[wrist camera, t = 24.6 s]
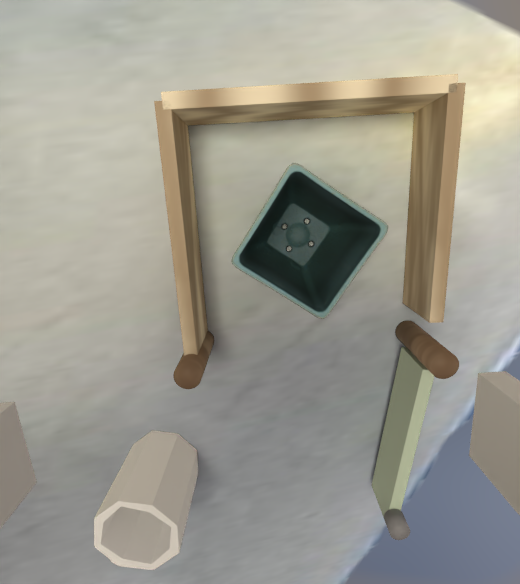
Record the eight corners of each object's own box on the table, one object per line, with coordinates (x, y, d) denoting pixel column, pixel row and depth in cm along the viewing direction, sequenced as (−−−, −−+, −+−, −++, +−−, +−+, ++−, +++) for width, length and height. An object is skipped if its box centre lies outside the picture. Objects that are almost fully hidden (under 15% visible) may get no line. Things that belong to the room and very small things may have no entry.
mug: (146, 419, 40) (109, 487, 31) (212, 448, 41) (197, 523, 32) (108, 492, 43) (64, 575, 33) (171, 518, 44) (145, 606, 34)
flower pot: (284, 169, 33) (292, 159, 24) (359, 219, 34) (392, 226, 25) (237, 247, 35) (228, 263, 26) (309, 292, 36) (323, 321, 27)
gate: (397, 346, 36) (427, 379, 30) (416, 348, 36) (450, 381, 30) (368, 484, 41) (388, 539, 35) (384, 486, 41) (407, 540, 35)
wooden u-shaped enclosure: (193, 350, 38) (175, 389, 30) (166, 112, 32) (135, 84, 24) (417, 341, 37) (457, 378, 29) (435, 96, 31) (492, 62, 23)
